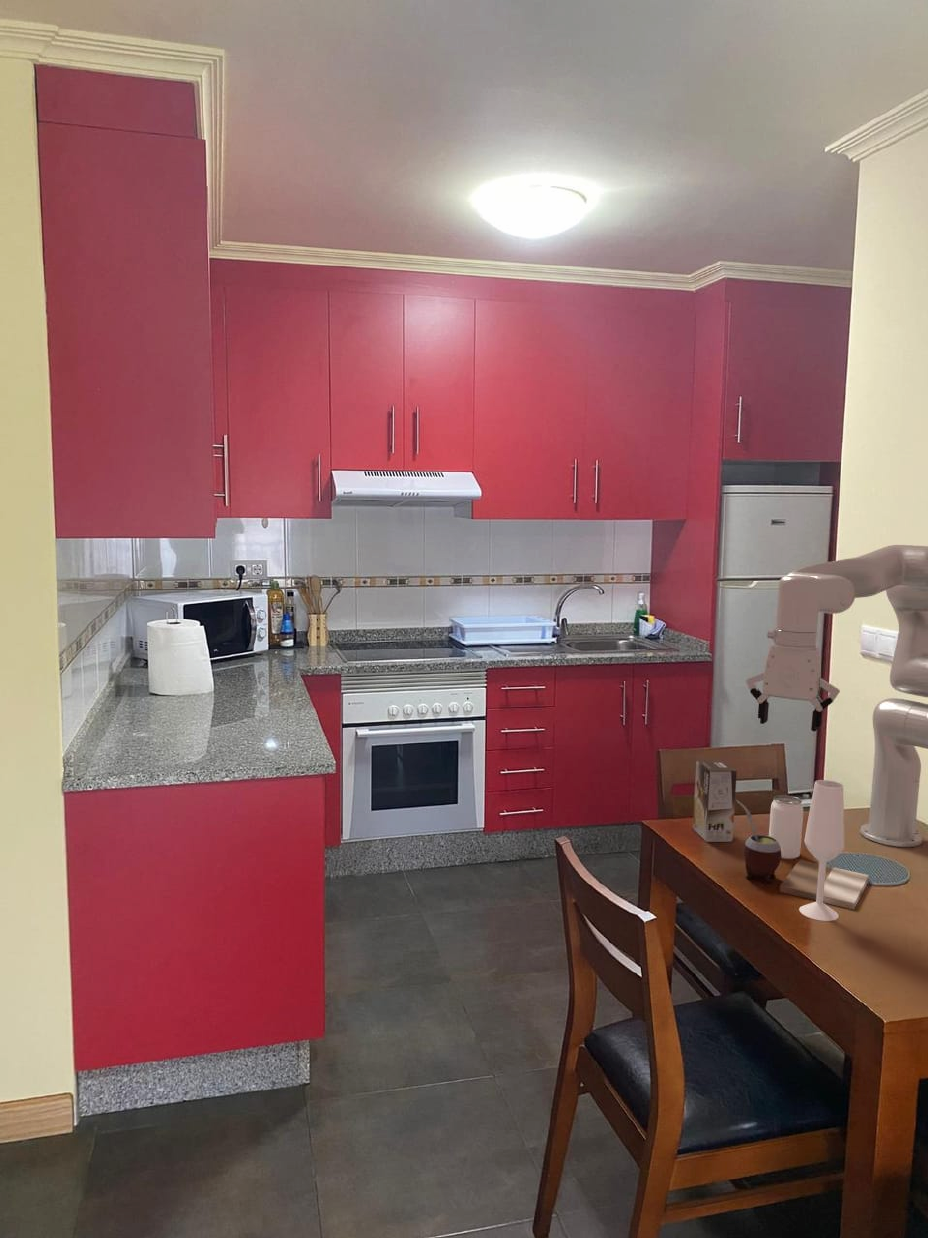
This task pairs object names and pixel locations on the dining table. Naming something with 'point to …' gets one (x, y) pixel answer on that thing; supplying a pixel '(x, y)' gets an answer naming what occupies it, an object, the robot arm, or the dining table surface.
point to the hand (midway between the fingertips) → (788, 726)
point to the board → (838, 884)
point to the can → (787, 825)
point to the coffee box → (714, 800)
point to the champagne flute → (824, 839)
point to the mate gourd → (761, 854)
